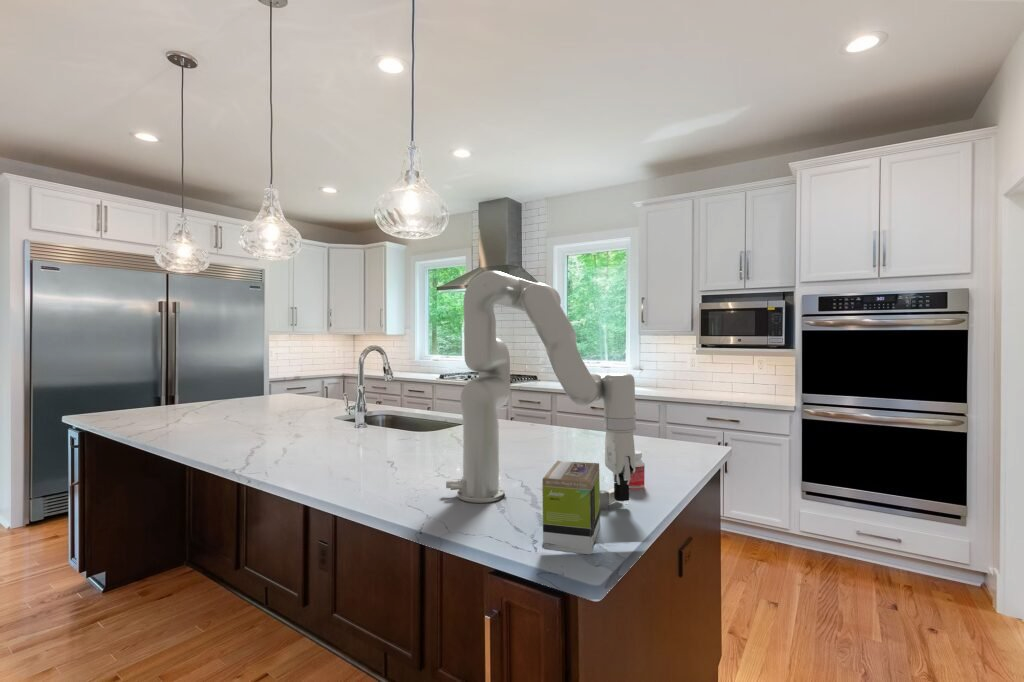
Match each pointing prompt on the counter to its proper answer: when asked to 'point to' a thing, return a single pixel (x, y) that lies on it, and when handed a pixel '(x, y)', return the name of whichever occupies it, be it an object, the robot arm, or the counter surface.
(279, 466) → the counter surface
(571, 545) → the tea box
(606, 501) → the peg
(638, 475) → the pill bottle
